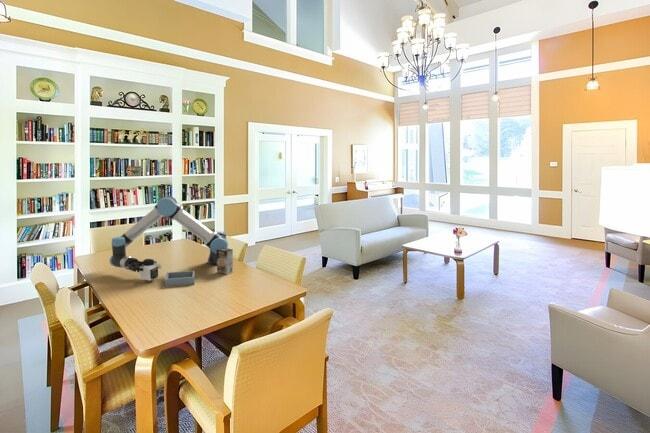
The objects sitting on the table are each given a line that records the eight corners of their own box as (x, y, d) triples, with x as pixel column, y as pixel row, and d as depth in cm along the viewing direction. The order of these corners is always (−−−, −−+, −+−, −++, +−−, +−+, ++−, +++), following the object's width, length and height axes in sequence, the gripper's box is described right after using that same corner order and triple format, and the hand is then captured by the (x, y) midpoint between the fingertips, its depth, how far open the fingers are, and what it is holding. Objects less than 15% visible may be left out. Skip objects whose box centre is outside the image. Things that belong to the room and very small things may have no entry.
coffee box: (216, 272, 240) (215, 249, 238) (222, 270, 246) (222, 247, 243) (227, 274, 236) (226, 251, 234) (233, 272, 242) (233, 249, 240)
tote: (194, 277, 229) (194, 270, 229) (194, 284, 216) (194, 277, 215) (167, 279, 224) (167, 272, 223) (165, 286, 211) (165, 279, 210)
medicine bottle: (150, 280, 216) (149, 261, 215) (140, 279, 218) (139, 260, 216) (158, 276, 223) (157, 258, 222) (148, 276, 225) (147, 257, 223)
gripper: (144, 264, 237) (169, 269, 227) (114, 273, 218) (139, 279, 209) (144, 253, 236) (168, 258, 226) (113, 261, 217) (138, 266, 208)
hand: (154, 268), depth 218 cm, fingers closed on medicine bottle, 8 cm apart
